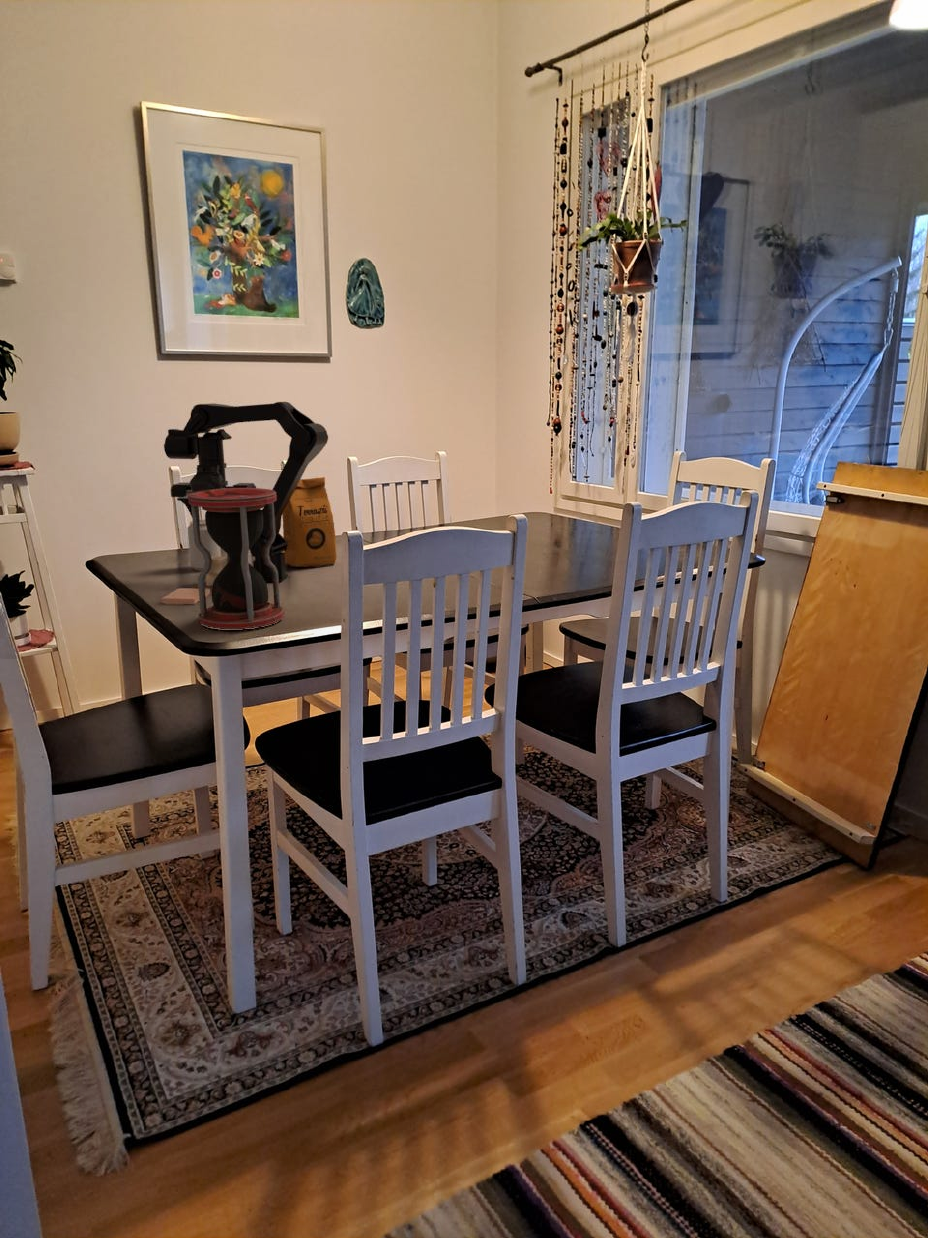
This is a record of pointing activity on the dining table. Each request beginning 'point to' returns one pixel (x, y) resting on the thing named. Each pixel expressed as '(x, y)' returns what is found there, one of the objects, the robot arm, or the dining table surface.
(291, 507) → the coffee package
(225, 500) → the hourglass
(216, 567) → the pusher
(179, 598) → the tile
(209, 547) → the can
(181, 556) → the dining table surface
